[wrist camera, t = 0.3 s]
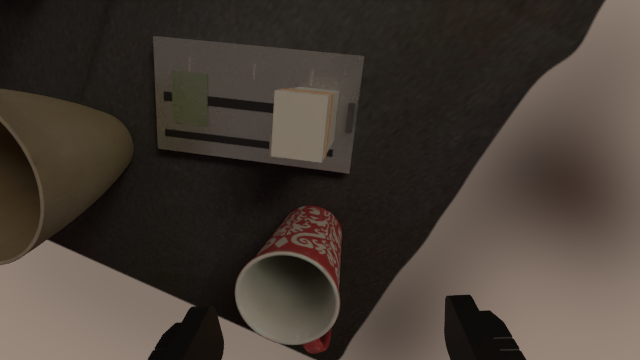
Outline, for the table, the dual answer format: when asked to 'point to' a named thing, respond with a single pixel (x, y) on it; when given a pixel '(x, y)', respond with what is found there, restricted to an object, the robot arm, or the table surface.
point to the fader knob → (303, 123)
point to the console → (246, 98)
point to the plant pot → (52, 166)
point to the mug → (295, 281)
